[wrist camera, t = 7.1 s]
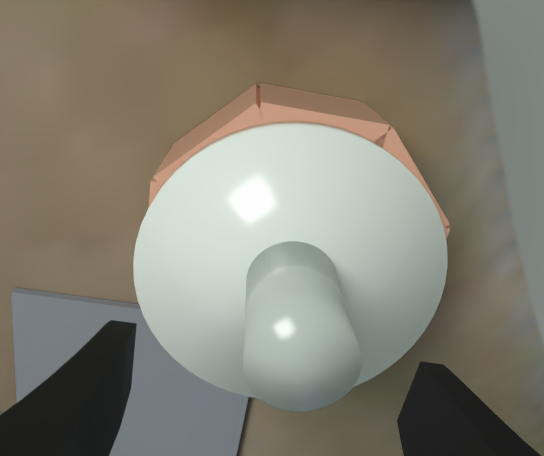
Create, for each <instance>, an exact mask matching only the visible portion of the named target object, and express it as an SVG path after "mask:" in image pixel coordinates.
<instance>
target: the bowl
mask: <svg viewBox="0 0 544 456" xmlns="http://www.w3.org/2000/svg"><path fill="white" fill-rule="evenodd" d="M280 121H307V122H318V123H323V124H328V125H332V126H337V127H341V128H344V129H347V130H349V131H352V132H355V133H357V134H360V135H362V136H364V137H366V138H368V139H370V140H372V141H373V142H375V143H377V144H379V145H380V146H382V147H383V148H385V149H386V150H387V151H389V152H390V153H391V154H393V155H394V156H395V157H396V158H397V159H398V160H400V161H401V162H402V163H403V164H404V165H405V166H406V167H407V168H408V169H409V170H410V171H411V173H412V174H413V175H414V176H415V177H416V178H417V179H418V180H419V181H420V183H421V184H422V186H423V187H424V188H425V190H426V191H427V192H428V194H429V195H430V197H431V199H432V201H433V203H434V205H435V207H436V209H437V211H438V213H439V216H440V219H441V222H442V225H443V228H444V232H445V237H446V239H447V237H448V234H449V231H450V228H449V227H448V225H450V223H449V222H448V220H447V218H446V217H445V215H444V213H443V211H442V210H441V208H440V206H439V205H438V203H437V201H436V200H435V198H434V196H433V194H432V193H431V191H430V189H429V188H428V186H427V184H426V182H425V181H424V179H423V177H422V176H421V174H420V172H419V171H418V169H417V167H416V165H415V164H414V162H413V160H412V159H411V157H410V155H409V153H408V152H407V150H406V148H405V147H404V145H403V143H402V141H401V140H400V138H399V136H398V135H397V133H396V131H395V130H394V128H393V127H392V126H391V125H389V124H388V123H387V122H386V121H385V120H384V119H382V118H381V117H380V116H379V115H378V114H376V113H375V112H374V111H373V110H372V109H370V108H369V107H368V106H367V105H366V104H364V103H363V102H362V101H357V100H351V99H346V98H340V97H335V96H329V95H324V94H319V93H313V92H308V91H302V90H297V89H291V88H286V87H280V86H275V85H270V84H264V83H260V87H258V86H257V85H256V84H255V85H254V86H252V87H251V88H249V89H248V90H247V91H245V92H244V93H243V94H241V95H240V96H238V97H237V98H236V99H234V100H233V101H232V102H230V103H229V104H228V105H226V106H225V107H223V108H222V109H221V110H219V111H218V112H217V113H215V114H214V115H212V116H211V117H210V118H208V119H207V120H206V121H204V122H203V123H201V124H200V125H199V126H197V127H196V128H195V129H193V130H192V131H190V132H189V133H188V134H186V135H185V136H184V137H182V138H181V139H180V140H178V141H177V142H175V143H174V145H173V146H172V148H171V149H170V151H169V153H168V154H167V156H166V157H165V159H164V161H163V162H162V164H161V165H160V167H159V168H158V170H157V172H156V173H155V175H154V176H153V178H152V180H151V184H150V197H149V207H150V205H151V203H152V201H153V200H154V198H155V196H156V195H157V193H158V192H159V190H160V189H161V187H162V186H163V184H164V182H165V181H166V180H167V179H168V178H169V177H170V176H171V174H172V173H173V172H174V171H175V170H176V169H177V167H179V166H180V165H181V164H182V163H183V162H184V161H186V160H187V159H188V158H189V157H190V156H191V155H192V154H194V153H195V152H197V151H198V150H200V149H201V148H203V147H204V146H206V145H207V144H209V143H211V142H212V141H214V140H217V139H219V138H221V137H223V136H225V135H227V134H229V133H231V132H234V131H238V130H241V129H244V128H247V127H250V126H254V125H259V124H265V123H270V122H280Z"/></svg>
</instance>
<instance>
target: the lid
mask: <svg viewBox="0 0 544 456" xmlns="http://www.w3.org/2000/svg"><path fill="white" fill-rule="evenodd" d="M133 266H134V284H135V289H136V294H137V299H138V302H139V305H140V308H141V311H142V314H143V316H144V318H145V320H146V322H147V324H148V326H149V328H150V330H151V331H152V333H153V334H154V336H155V337H156V338H157V340H158V341H159V343H160V344H161V345H162V346H163V348H164V349H165V350H166V351H167V352H168V353H169V354H170V355H171V356H172V357H173V358H174V359H175V360H176V361H177V362H179V363H180V364H181V365H182V366H183V367H184V368H186V369H187V370H189V371H190V372H192V373H193V374H195V375H196V376H198V377H199V378H201V379H203V380H205V381H207V382H209V383H211V384H213V385H215V386H217V387H219V388H222V389H225V390H227V391H230V392H233V393H236V394H240V395H244V396H248V397H253V398H259V399H260V400H262V401H263V402H265V403H266V404H268V405H270V406H273V407H275V408H278V409H282V410H287V411H296V412H302V411H312V410H317V409H321V408H324V407H326V406H329V405H331V404H333V403H335V402H337V401H338V400H340V399H341V398H343V397H344V396H345V395H346V394H347V393H348V392H349V391H350V390H351V389H352V388H353V387H355V386H357V385H359V384H361V383H363V382H365V381H367V380H370V379H372V378H373V377H375V376H376V375H378V374H380V373H381V372H383V371H384V370H386V369H387V368H389V367H390V366H391V365H392V364H394V363H395V362H396V361H398V360H399V359H400V358H401V357H402V356H403V355H404V354H405V353H406V352H407V351H408V350H409V349H410V348H411V347H412V346H413V345H414V344H415V343H416V341H417V340H418V339H419V338H420V336H421V335H422V334H423V333H424V331H425V330H426V328H427V326H428V325H429V323H430V321H431V320H432V318H433V316H434V314H435V312H436V309H437V307H438V305H439V302H440V300H441V297H442V293H443V290H444V286H445V282H446V274H447V266H448V261H447V243H446V237H445V232H444V228H443V225H442V222H441V219H440V216H439V213H438V211H437V209H436V207H435V205H434V203H433V201H432V199H431V197H430V195H429V194H428V192H427V191H426V190H425V188H424V187H423V186H422V184H421V183H420V181H419V180H418V179H417V178H416V177H415V176H414V175H413V174H412V173H411V171H410V170H409V169H408V168H407V167H406V166H405V165H404V164H403V163H402V162H401V161H400V160H398V159H397V158H396V157H395V156H394V155H393V154H391V153H390V152H389V151H387V150H386V149H385V148H383V147H382V146H380V145H379V144H377V143H375V142H373V141H372V140H370V139H368V138H366V137H364V136H362V135H360V134H357V133H355V132H352V131H349V130H347V129H344V128H341V127H337V126H332V125H328V124H323V123H318V122H307V121H280V122H270V123H265V124H259V125H254V126H250V127H247V128H244V129H241V130H238V131H234V132H231V133H229V134H227V135H225V136H223V137H221V138H219V139H217V140H214V141H212V142H211V143H209V144H207V145H206V146H204V147H203V148H201V149H200V150H198V151H197V152H195V153H194V154H192V155H191V156H190V157H189V158H188V159H187V160H186V161H184V162H183V163H182V164H181V165H180V166H179V167H177V169H176V170H175V171H174V172H173V173H172V174H171V176H170V177H169V178H168V179H167V180H166V181H165V182H164V184H163V186H162V187H161V189H160V190H159V192H158V193H157V195H156V196H155V198H154V200H153V201H152V203H151V205H150V207H149V209H148V211H147V213H146V215H145V218H144V220H143V222H142V224H141V227H140V230H139V234H138V238H137V241H136V245H135V254H134V262H133Z"/></svg>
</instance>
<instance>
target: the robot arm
mask: <svg viewBox="0 0 544 456" xmlns="http://www.w3.org/2000/svg"><path fill="white" fill-rule="evenodd" d="M136 326H137V323H130V322H123V321H115V320H110V321H109V322H107V323H106V324H105V325H104V326H103V327H102V328H101V329H100V330H99V331H98V332H97V333H96V334H95V335H94V336H93V337H92V338H91V339H90V340H89V341H88V342H87V343H86V344H85V345H84V346H83V347H82V348H81V349H80V350H79V351H78V352H77V353H76V354H75V355H73V356H72V357H71V358H70V359H69V360H68V361H67V362H66V363H64V364H63V365H62V366H61V367H60V368H59V369H58V370H57V371H56V372H54V373H53V374H52V375H51V376H50V377H49V378H47V379H46V380H45V381H44V382H42V383H41V384H40V385H39V386H37V387H36V388H35V389H34V390H33V391H31V392H30V393H29V394H28V395H26V396H25V397H24V398H23V399H21V400H20V401H19V402H17V403H16V404H15V405H13V406H12V407H11V408H9V409H8V410H7V411H5V412H4V413H3V414H1V415H0V456H109V455H110V452H111V450H112V447H113V445H114V442H115V440H116V437H117V434H118V432H119V429H120V426H121V423H122V419H123V416H124V412H125V409H126V405H127V402H128V398H129V394H130V391H131V384H132V372H133V361H134V349H135V338H136ZM397 422H398V428H399V433H400V439H401V444H402V449H403V453H404V456H540V455H539V454H538V453H537V452H536V451H535V450H534V449H532V448H531V447H530V446H529V445H528V444H527V443H526V442H525V441H523V440H522V439H521V438H520V437H519V436H518V435H517V434H516V433H515V432H514V431H513V430H512V429H510V428H509V427H508V426H507V425H506V424H505V423H504V422H503V421H502V420H501V419H500V418H499V417H498V416H497V415H496V414H495V413H494V412H493V411H492V410H491V409H490V408H488V407H487V406H486V405H485V404H484V403H483V402H482V401H481V400H480V399H479V398H478V397H477V396H476V395H475V394H474V393H473V392H472V391H471V390H470V389H469V388H468V387H467V386H466V385H465V384H464V383H463V382H462V381H461V380H460V379H459V378H458V377H456V376H455V375H454V374H453V373H452V372H451V371H450V370H449V369H448V368H446V367H445V366H444V365H442V364H434V363H427V362H420V364H419V367H418V369H417V372H416V374H415V377H414V380H413V382H412V385H411V387H410V390H409V392H408V395H407V397H406V400H405V402H404V405H403V407H402V410H401V412H400V415H399V417H398V420H397Z"/></svg>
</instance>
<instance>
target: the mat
mask: <svg viewBox="0 0 544 456" xmlns="http://www.w3.org/2000/svg"><path fill="white" fill-rule="evenodd" d="M11 299H12V319H13V338H14V358H15V377H16V397H17V402H19V401H20V400H21V399H23V398H24V397H25V396H26V395H28V394H29V393H30V392H31V391H33V390H34V389H35V388H36V387H37V386H39V385H40V384H41V383H42V382H44V381H45V380H46V379H47V378H49V377H50V376H51V375H52V374H53V373H54V372H56V371H57V370H58V369H59V368H60V367H61V366H62V365H63V364H64V363H66V362H67V361H68V360H69V359H70V358H71V357H72V356H73V355H75V354H76V353H77V352H78V351H79V350H80V349H81V348H82V347H83V346H84V345H85V344H86V343H87V342H88V341H89V340H90V339H91V338H92V337H93V336H94V335H95V334H96V333H97V332H98V331H99V330H100V329H101V328H102V327H103V326H104V325H105V324H106V323H107V322H109V321H110V320H115V321H123V322H130V323H137V326H136V338H135V349H134V361H133V372H132V384H131V391H130V394H129V398H128V402H127V405H126V409H125V412H124V416H123V419H122V423H121V426H120V429H119V432H118V434H117V437H116V440H115V442H114V445H113V447H112V450H111V452H110V455H109V456H236V455H237V450H238V446H239V441H240V436H241V431H242V427H243V422H244V417H245V412H246V408H247V403H248V398H249V397H248V396H244V395H240V394H236V393H233V392H230V391H227V390H225V389H222V388H219V387H217V386H215V385H213V384H211V383H209V382H207V381H205V380H203V379H201V378H199V377H198V376H196V375H195V374H193V373H192V372H190V371H189V370H187V369H186V368H184V367H183V366H182V365H181V364H180V363H179V362H177V361H176V360H175V359H174V358H173V357H172V356H171V355H170V354H169V353H168V352H167V351H166V350H165V349H164V348H163V346H162V345H161V344H160V343H159V341H158V340H157V338H156V337H155V336H154V334H153V333H152V331H151V330H150V328H149V326H148V324H147V322H146V320H145V318H144V316H143V314H142V311H141V308H140V305H139V304H134V303H127V302H119V301H112V300H104V299H97V298H89V297H82V296H74V295H67V294H59V293H52V292H44V291H37V290H29V289H21V288H14V289H13V291H12V292H11Z"/></svg>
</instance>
